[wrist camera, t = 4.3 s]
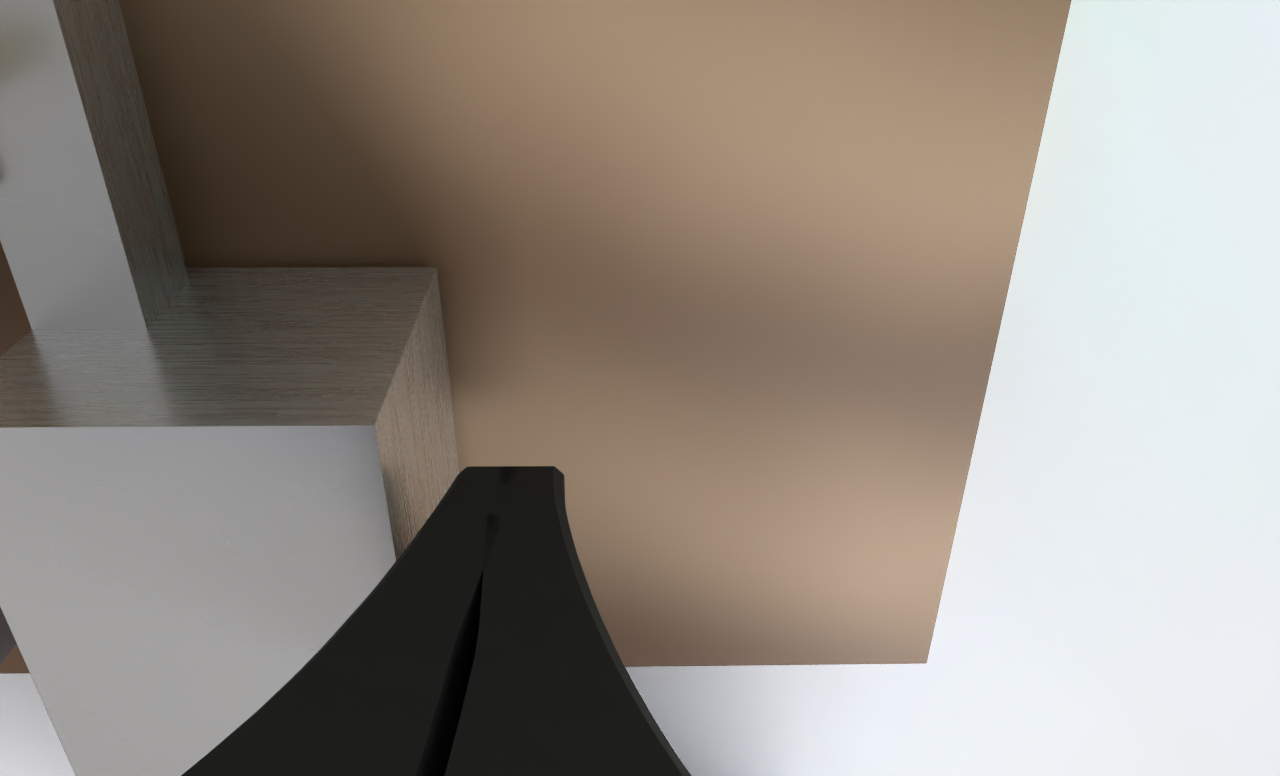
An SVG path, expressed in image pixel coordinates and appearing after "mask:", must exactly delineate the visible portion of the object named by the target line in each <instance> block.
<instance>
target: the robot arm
mask: <svg viewBox="0 0 1280 776" xmlns="http://www.w3.org/2000/svg"><path fill="white" fill-rule="evenodd" d="M181 776H691V775H690V773H689V772H688V771H687V769H686V768H685V766H684V765H683V764H682V762H681V761H680V759H679V758H678V757H677V755H676V754H675V752H674V750H673V749H672V747H671V746H670V744H669V743H668V741H667V739H666V738H665V736H664V734H663V733H662V731H661V730H660V728H659V726H658V725H657V723H656V722H655V720H654V718H653V717H652V715H651V713H650V712H649V710H648V708H647V706H646V705H645V703H644V701H643V699H642V698H641V696H640V694H639V692H638V691H637V689H636V687H635V685H634V683H633V682H632V680H631V678H630V676H629V674H628V672H627V670H626V668H625V666H624V664H623V662H622V660H621V658H620V656H619V654H618V652H617V650H616V648H615V646H614V644H613V642H612V640H611V638H610V635H609V633H608V631H607V629H606V627H605V625H604V622H603V620H602V618H601V616H600V613H599V611H598V609H597V606H596V604H595V601H594V599H593V596H592V594H591V591H590V588H589V586H588V583H587V580H586V577H585V575H584V572H583V569H582V566H581V564H580V561H579V558H578V555H577V552H576V548H575V545H574V542H573V538H572V534H571V530H570V526H569V522H568V518H567V513H566V505H565V479H564V474H563V473H562V472H561V471H559V470H558V469H557V468H556V467H555V466H469V467H466V468H465V469H464V470H462V471H461V472H460V473H459V474H458V475H457V477H456V478H455V480H454V481H453V483H452V485H451V486H450V488H449V489H448V491H447V492H446V494H445V495H444V497H443V498H442V500H441V501H440V502H439V504H438V505H437V507H436V508H435V510H434V511H433V513H432V514H431V515H430V517H429V518H428V520H427V521H426V522H425V524H424V525H423V526H422V528H421V529H420V531H419V532H418V533H417V535H416V536H415V537H414V539H413V540H412V541H411V543H410V544H409V545H408V547H407V548H406V549H405V550H404V552H403V553H402V554H401V556H400V557H399V558H398V559H397V561H396V562H395V563H394V564H393V566H392V567H391V568H390V569H389V571H388V572H387V573H386V575H385V576H384V577H383V578H382V580H381V581H380V582H379V583H378V585H377V586H376V587H375V588H374V589H373V591H372V592H371V593H370V594H369V595H368V597H367V598H366V599H365V600H364V601H363V602H362V603H361V604H360V606H359V607H358V608H357V609H356V610H355V611H354V612H353V613H352V615H351V616H350V617H349V618H348V619H347V620H346V621H345V622H344V623H343V625H342V626H341V627H340V628H339V629H338V630H337V631H336V632H335V634H334V635H333V636H332V637H331V638H330V639H329V640H328V641H327V643H326V644H325V645H324V646H323V647H322V648H321V649H320V650H319V651H318V652H317V653H316V654H315V655H314V656H313V657H312V658H311V659H310V660H309V661H308V662H307V663H306V664H305V665H304V666H303V667H302V668H301V669H300V670H299V671H298V672H297V673H296V674H295V675H294V676H293V677H292V678H291V679H290V680H289V681H288V682H287V683H286V684H285V685H284V686H283V687H282V688H281V689H280V690H279V691H278V692H277V693H276V694H275V695H273V696H272V697H271V698H270V699H269V700H268V701H267V702H266V703H265V704H264V705H263V706H262V707H261V708H260V709H259V710H257V711H256V712H255V713H254V714H253V715H252V716H251V717H250V718H249V719H247V720H246V721H245V722H244V723H243V724H242V725H240V726H239V727H238V728H237V729H236V730H235V731H233V732H232V733H231V734H230V735H229V736H228V737H226V738H225V739H224V740H223V741H222V742H221V743H219V744H218V745H217V746H216V747H215V748H214V749H212V750H211V751H210V752H209V753H208V754H207V755H205V756H204V757H203V758H202V759H201V760H199V761H198V762H197V763H196V764H195V765H193V766H192V767H191V768H190V769H188V770H187V771H186V772H185V773H184V774H182V775H181Z"/></svg>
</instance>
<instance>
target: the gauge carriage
mask: <svg viewBox="0 0 1280 776" xmlns="http://www.w3.org/2000/svg"><path fill="white" fill-rule="evenodd" d="M0 241H1V244H2V247H3V249H4V252H5V255H6V258H7V261H8V264H9V266H10V269H11V272H12V275H13V278H14V281H15V283H16V286H17V289H18V292H19V295H20V297H21V300H22V303H23V306H24V309H25V312H26V314H27V317H28V320H29V323H30V326H31V329H32V330H31V331H30V332H29V333H27V334H26V335H25V336H24V337H23V338H22V339H21V340H19V341H18V342H17V343H16V344H15V345H14V346H13V347H12V348H10V349H9V350H8V351H7V352H6V353H5V354H4V355H3V356H1V357H0V607H1V609H2V611H3V614H4V616H5V618H6V620H7V623H8V625H9V627H10V629H11V632H12V634H13V636H14V638H15V641H16V643H17V645H18V647H19V650H20V652H21V654H22V656H23V659H24V661H25V663H26V665H27V668H28V670H29V672H30V674H31V676H32V679H33V681H34V683H35V685H36V688H37V690H38V692H39V694H40V697H41V699H42V701H43V703H44V706H45V708H46V710H47V712H48V715H49V717H50V719H51V721H52V724H53V726H54V728H55V730H56V733H57V735H58V737H59V739H60V742H61V744H62V746H63V748H64V750H65V753H66V755H67V757H68V759H69V762H70V764H71V766H72V768H73V771H74V773H75V775H76V776H181V775H182V774H184V773H185V772H186V771H187V770H188V769H190V768H191V767H192V766H193V765H195V764H196V763H197V762H198V761H199V760H201V759H202V758H203V757H204V756H205V755H207V754H208V753H209V752H210V751H211V750H212V749H214V748H215V747H216V746H217V745H218V744H219V743H221V742H222V741H223V740H224V739H225V738H226V737H228V736H229V735H230V734H231V733H232V732H233V731H235V730H236V729H237V728H238V727H239V726H240V725H242V724H243V723H244V722H245V721H246V720H247V719H249V718H250V717H251V716H252V715H253V714H254V713H255V712H256V711H257V710H259V709H260V708H261V707H262V706H263V705H264V704H265V703H266V702H267V701H268V700H269V699H270V698H271V697H272V696H273V695H275V694H276V693H277V692H278V691H279V690H280V689H281V688H282V687H283V686H284V685H285V684H286V683H287V682H288V681H289V680H290V679H291V678H292V677H293V676H294V675H295V674H296V673H297V672H298V671H299V670H300V669H301V668H302V667H303V666H304V665H305V664H306V663H307V662H308V661H309V660H310V659H311V658H312V657H313V656H314V655H315V654H316V653H317V652H318V651H319V650H320V649H321V648H322V647H323V646H324V645H325V644H326V643H327V641H328V640H329V639H330V638H331V637H332V636H333V635H334V634H335V632H336V631H337V630H338V629H339V628H340V627H341V626H342V625H343V623H344V622H345V621H346V620H347V619H348V618H349V617H350V616H351V615H352V613H353V612H354V611H355V610H356V609H357V608H358V607H359V606H360V604H361V603H362V602H363V601H364V600H365V599H366V598H367V597H368V595H369V594H370V593H371V592H372V591H373V589H374V588H375V587H376V586H377V585H378V583H379V582H380V581H381V580H382V578H383V577H384V576H385V575H386V573H387V572H388V571H389V569H390V568H391V567H392V566H393V564H394V563H395V562H396V561H397V559H398V558H399V557H400V556H401V554H402V553H403V552H404V550H405V549H406V548H407V547H408V545H409V544H410V543H411V541H412V540H413V539H414V537H415V536H416V535H417V533H418V532H419V531H420V529H421V528H422V526H423V525H424V524H425V522H426V521H427V520H428V518H429V517H430V515H431V514H432V513H433V511H434V510H435V508H436V507H437V505H438V504H439V502H440V501H441V500H442V498H443V497H444V495H445V494H446V492H447V491H448V489H449V488H450V486H451V485H452V483H453V481H454V480H455V478H456V477H457V475H458V474H459V473H460V471H459V462H458V453H457V444H456V435H455V426H454V417H453V408H452V399H451V390H450V380H449V371H448V362H447V353H446V344H445V335H444V326H443V317H442V308H441V299H440V290H439V281H438V272H437V267H252V268H186V265H185V261H184V257H183V253H182V249H181V245H180V241H179V237H178V233H177V229H176V225H175V221H174V217H173V214H172V210H171V206H170V202H169V198H168V194H167V190H166V186H165V182H164V178H163V174H162V170H161V166H160V162H159V158H158V154H157V150H156V146H155V143H154V139H153V135H152V131H151V127H150V123H149V119H148V115H147V111H146V107H145V103H144V99H143V95H142V91H141V87H140V83H139V79H138V75H137V72H136V68H135V64H134V60H133V56H132V52H131V48H130V44H129V40H128V36H127V32H126V28H125V24H124V20H123V16H122V12H121V8H120V4H119V1H118V0H0Z"/></svg>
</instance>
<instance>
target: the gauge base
mask: <svg viewBox="0 0 1280 776" xmlns="http://www.w3.org/2000/svg"><path fill="white" fill-rule="evenodd" d="M118 1H119V4H120V8H121V12H122V16H123V20H124V24H125V28H126V32H127V36H128V40H129V44H130V48H131V52H132V56H133V60H134V64H135V68H136V72H137V75H138V79H139V83H140V87H141V91H142V95H143V99H144V103H145V107H146V111H147V115H148V119H149V123H150V127H151V131H152V135H153V139H154V143H155V146H156V150H157V154H158V158H159V162H160V166H161V170H162V174H163V178H164V182H165V186H166V190H167V194H168V198H169V202H170V206H171V210H172V214H173V217H174V221H175V225H176V229H177V233H178V237H179V241H180V245H181V249H182V253H183V257H184V261H185V265H186V268H252V267H437V272H438V281H439V290H440V299H441V308H442V317H443V326H444V335H445V344H446V353H447V362H448V371H449V380H450V390H451V399H452V408H453V417H454V426H455V435H456V444H457V453H458V462H459V471H460V472H461V471H462V470H464V469H465V468H466V467H469V466H555V467H556V468H557V469H558V470H559V471H561V472H562V473H563V474H564V479H565V505H566V513H567V518H568V522H569V526H570V530H571V534H572V538H573V542H574V545H575V548H576V552H577V555H578V558H579V561H580V564H581V566H582V569H583V572H584V575H585V577H586V580H587V583H588V586H589V588H590V591H591V594H592V596H593V599H594V601H595V604H596V606H597V609H598V611H599V613H600V616H601V618H602V620H603V622H604V625H605V627H606V629H607V631H608V633H609V635H610V638H611V640H612V642H613V644H614V646H615V648H616V650H617V652H618V654H619V656H620V658H621V660H622V662H623V664H624V666H625V667H635V666H727V665H818V664H909V663H927V658H928V654H929V649H930V645H931V640H932V636H933V631H934V626H935V622H936V617H937V613H938V608H939V603H940V599H941V594H942V590H943V585H944V581H945V576H946V571H947V567H948V562H949V558H950V553H951V549H952V544H953V539H954V535H955V530H956V526H957V521H958V516H959V512H960V507H961V503H962V498H963V494H964V489H965V484H966V480H967V475H968V471H969V466H970V461H971V457H972V452H973V448H974V443H975V439H976V434H977V429H978V425H979V420H980V416H981V411H982V407H983V402H984V397H985V393H986V388H987V384H988V379H989V374H990V370H991V365H992V361H993V356H994V352H995V347H996V342H997V338H998V333H999V329H1000V324H1001V320H1002V315H1003V310H1004V306H1005V301H1006V297H1007V292H1008V287H1009V283H1010V278H1011V274H1012V269H1013V265H1014V260H1015V255H1016V251H1017V246H1018V242H1019V237H1020V233H1021V228H1022V223H1023V219H1024V214H1025V210H1026V205H1027V200H1028V196H1029V191H1030V187H1031V182H1032V178H1033V173H1034V168H1035V164H1036V159H1037V155H1038V150H1039V146H1040V141H1041V136H1042V132H1043V127H1044V123H1045V118H1046V113H1047V109H1048V104H1049V100H1050V95H1051V91H1052V86H1053V81H1054V77H1055V72H1056V68H1057V63H1058V58H1059V54H1060V49H1061V45H1062V40H1063V36H1064V31H1065V26H1066V22H1067V17H1068V13H1069V8H1070V4H1071V0H118ZM31 330H32V329H31V326H30V323H29V320H28V317H27V314H26V312H25V309H24V306H23V303H22V300H21V297H20V295H19V292H18V289H17V286H16V283H15V281H14V278H13V275H12V272H11V269H10V266H9V264H8V261H7V258H6V255H5V252H4V249H3V247H2V244H1V241H0V357H1V356H3V355H4V354H5V353H6V352H7V351H8V350H9V349H10V348H12V347H13V346H14V345H15V344H16V343H17V342H18V341H19V340H21V339H22V338H23V337H24V336H25V335H26V334H27V333H29V332H30V331H31ZM0 673H30V672H29V670H28V668H27V665H26V663H25V661H24V659H23V656H22V654H21V652H20V650H19V647H18V645H17V643H16V641H15V638H14V636H13V634H12V632H11V629H10V627H9V625H8V623H7V620H6V618H5V616H4V614H3V611H2V609H1V607H0Z"/></svg>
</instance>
